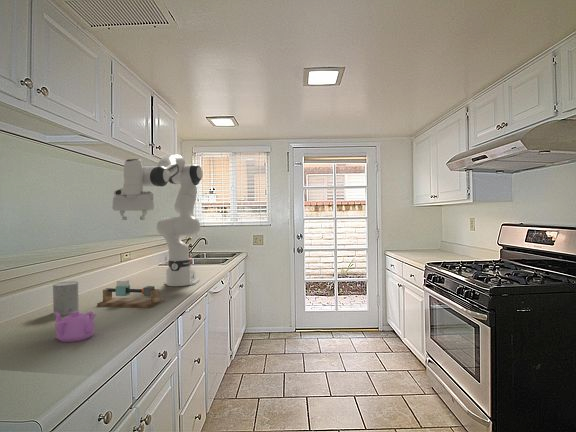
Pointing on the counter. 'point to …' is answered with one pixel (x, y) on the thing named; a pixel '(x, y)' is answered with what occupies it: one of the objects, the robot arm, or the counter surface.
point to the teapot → (74, 326)
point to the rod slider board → (130, 300)
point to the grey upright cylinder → (65, 297)
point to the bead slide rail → (137, 290)
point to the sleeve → (122, 288)
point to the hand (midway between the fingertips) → (133, 220)
